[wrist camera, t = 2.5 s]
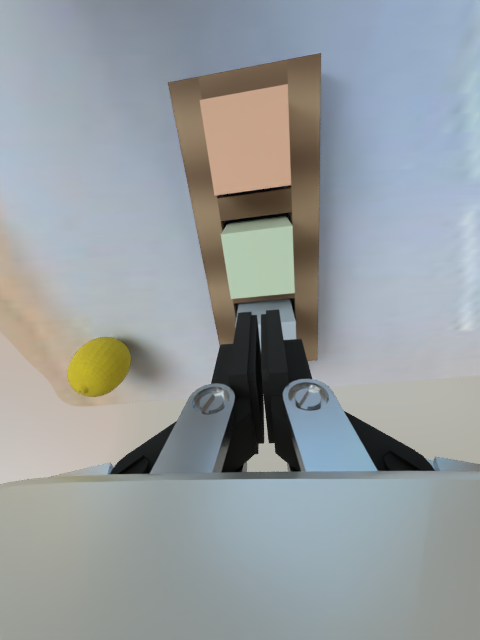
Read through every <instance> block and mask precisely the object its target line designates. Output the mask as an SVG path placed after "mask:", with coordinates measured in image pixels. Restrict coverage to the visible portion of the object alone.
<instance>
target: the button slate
mask: <svg viewBox="0 0 480 640" xmlns="http://www.w3.org/2000/svg"><path fill="white" fill-rule="evenodd" d="M277 309H279V312H280V319H281V326H282V333H283V339H284V340H291V339H296V321H295V317H294V313H293V309H292V305H291V301H290V298H288V299H278V300H267V301H256V302H245V303H239V304H238V311H237V316H238V313H241V312H252V315H257V320H258V330H259V339H260V349H261V314H266V310H277ZM236 323H237V317H236ZM235 328H236V324H235Z"/></svg>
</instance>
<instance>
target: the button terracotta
mask: <svg viewBox="0 0 480 640" xmlns="http://www.w3.org/2000/svg"><path fill="white" fill-rule="evenodd" d="M200 107H201V113H202V119H203V126H204V132H205V138H206V145H207V151H208V157H209V164H210V170H211V176H212V183H213V189H214V195H215V196H216V195H223V194H230V193H237V192H245V191H252V190H259V189H266V188H273V187H280V186H288V185H291V166H290V136H289V106H288V84H285V85H280V86H274V87H269V88H263V89H258V90H252V91H247V92H241V93H236V94H230V95H225V96H219V97H214V98H208V99H203V100H200Z"/></svg>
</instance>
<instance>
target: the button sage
mask: <svg viewBox="0 0 480 640" xmlns="http://www.w3.org/2000/svg"><path fill="white" fill-rule="evenodd" d="M221 240H222V246H223V252H224V259H225V265H226V271H227V278H228V284H229V290H230V297H231V299H237V298H248V297H258V296H269V295H279V294H290V293H295V286H294V256H293V226H292V224H291V223H290V221H289V220H288V218H287V217H286V216H280V217H272V218H264V219H256V220H248V221H241V222H233V223H227V225H226V227H225V228H224V230H223V232H222V233H221Z"/></svg>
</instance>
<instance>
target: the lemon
mask: <svg viewBox="0 0 480 640" xmlns="http://www.w3.org/2000/svg"><path fill="white" fill-rule="evenodd" d="M130 364H131V356H130V352H129V350H128V348H127V347H126V345H125V344H124V343H123V342H121V341H119V340H118V339H115V338H111V337H100V338H97V339H93V340H91V341H89V342H88V343H86V344H85V345H84V346H82V347H81V348H80V349H79V350H78V351H77V352H76V354H75V355H74V357H73V358H72V360H71V362H70V364H69V367H68V372H67V376H68V381H69V383H70V385H71V387H72V388H73V389H74V390H75V391H76V392H77V393H79V394H81V395H84V396H88V397H97V396H102V395H105V394H107V393H109V392H111V391H112V390H113V389H115V388H116V387H117V386H118V385H119V384H120V383H121V382H122V381H123V380H124V378H125V377H126V375H127V373H128V371H129V369H130Z"/></svg>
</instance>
